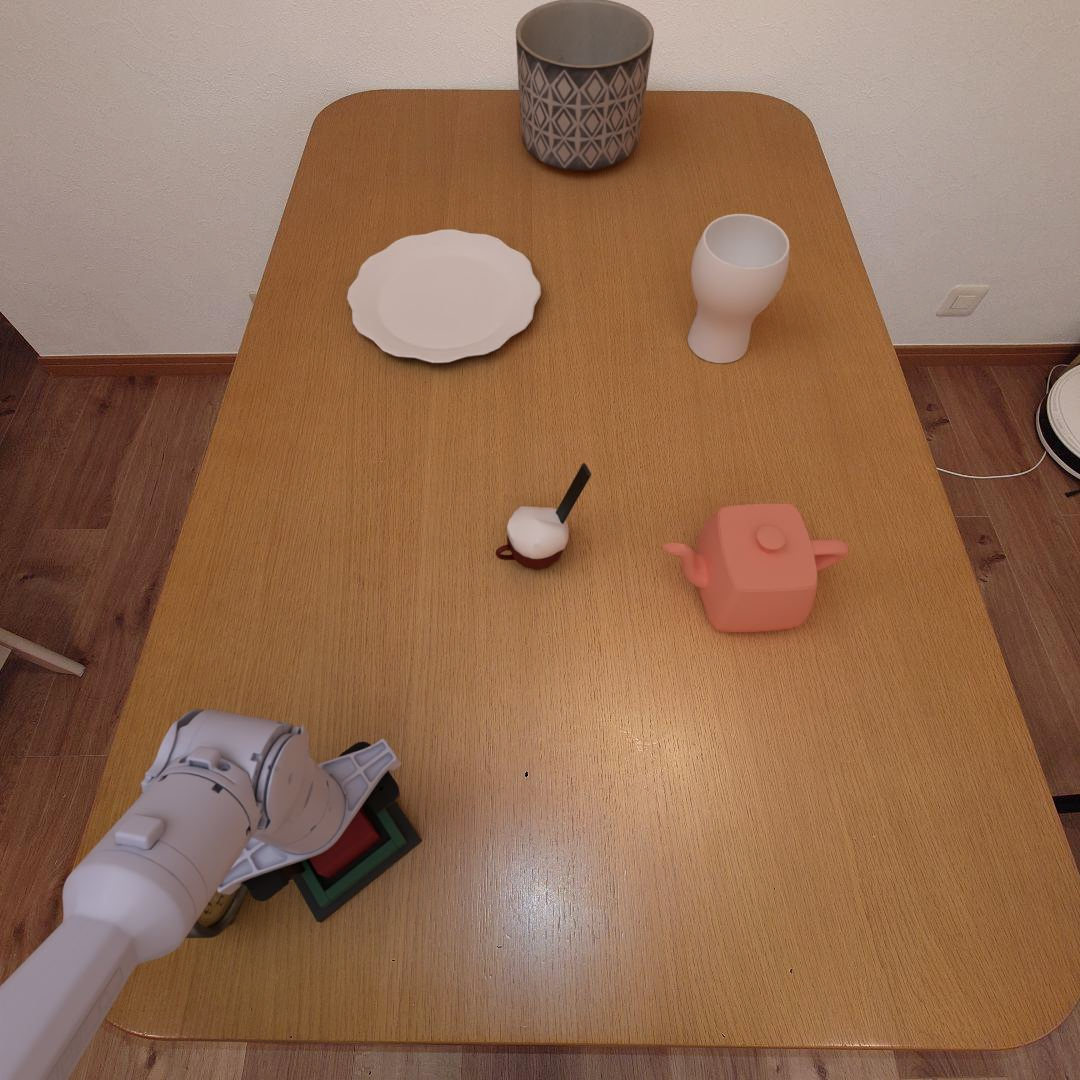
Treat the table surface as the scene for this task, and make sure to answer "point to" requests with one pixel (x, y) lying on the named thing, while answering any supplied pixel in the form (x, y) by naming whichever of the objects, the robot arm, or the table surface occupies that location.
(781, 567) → the teapot
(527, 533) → the cocoa
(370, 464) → the table surface
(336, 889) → the base pad
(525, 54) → the planter
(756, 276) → the cup
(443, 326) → the plate
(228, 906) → the alarm clock
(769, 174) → the table surface
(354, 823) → the red cube
